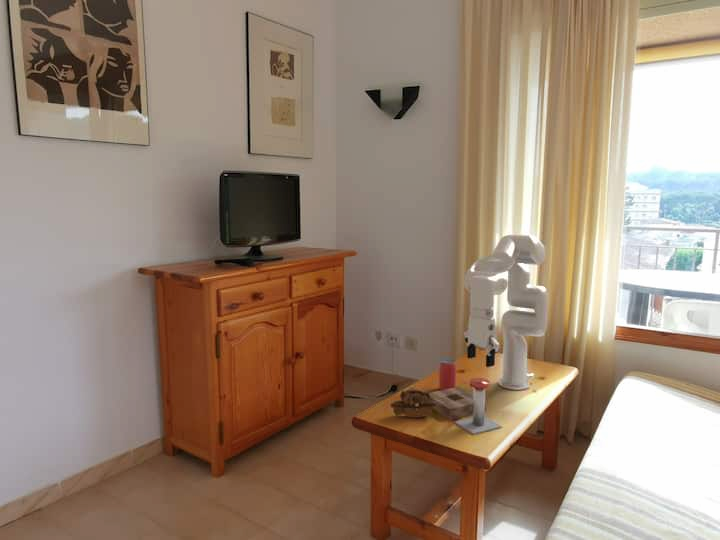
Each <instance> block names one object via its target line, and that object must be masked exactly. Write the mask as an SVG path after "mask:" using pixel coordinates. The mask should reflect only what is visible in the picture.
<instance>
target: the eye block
mask: <svg viewBox="0 0 720 540" xmlns="http://www.w3.org/2000/svg"><path fill="white" fill-rule="evenodd" d="M428 393H429V395H430V399H429V401H430V402H436V404H437V405H436V406H430V408H431V409H432V410H434V411H435V412H437V413H439V414H440V415H442V416H444V418H447V419H448V420H449V421H451V420H456V419H460V418H465V417H468V416H473V392H470V391H468V390H466V389H464V388H463V387H461V386H457V387H456V388H451V389H446V390H437V391H431V392H428ZM485 412H487V401H486V400H485Z"/></svg>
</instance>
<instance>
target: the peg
mask: <svg viewBox="0 0 720 540" xmlns="http://www.w3.org/2000/svg"><path fill="white" fill-rule="evenodd" d="M468 382H469V383H468V385H469V386H470V387H472V390H473V391H472V394H473V415H472V417H471V418H472V424H473V425H475V426H483V425H484V416H485V415H486V414H485V401H486V389H488V388H489V387H490V386H491V385H490V384H491V382H490V380H489V379H487V378H484V377H483V378H482V377H474V378H470V379H469V381H468ZM485 417H486V416H485Z"/></svg>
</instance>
